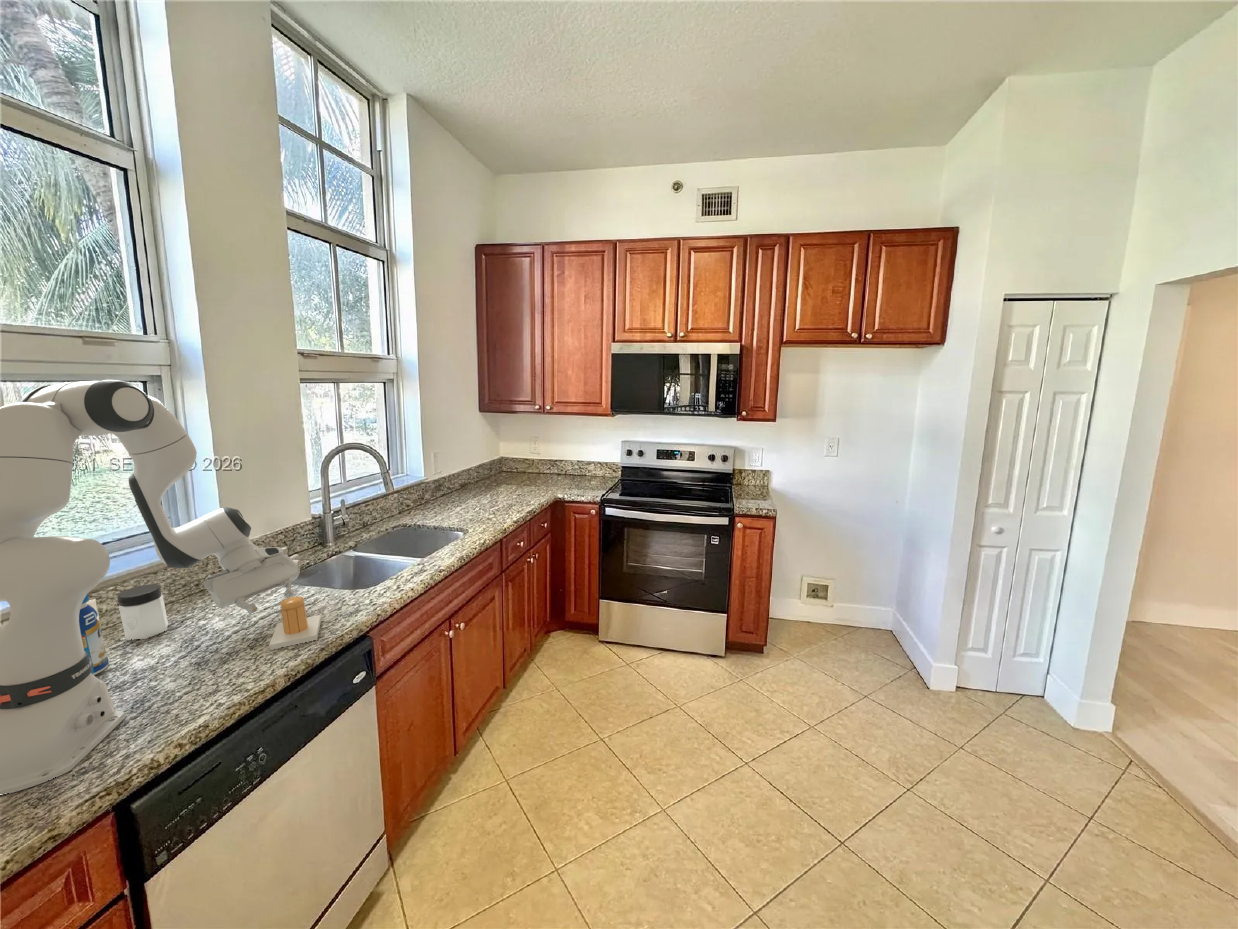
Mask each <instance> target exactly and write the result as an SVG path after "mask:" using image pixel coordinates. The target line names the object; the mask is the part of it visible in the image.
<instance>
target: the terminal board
mask: <svg viewBox="0 0 1238 929" xmlns="http://www.w3.org/2000/svg"><path fill="white" fill-rule="evenodd" d="M307 623H308V627H307V628H306V629H305V630H303V631H302V632H299V633H295V634H286V633H284V627H283V621H282V622H277V623H276V626H275V628H274V632H273V634H272V636H271V639H270V642H269V645H268V646H269V651H274V649H275V650H278V648H279V649H282V648H281V647H284V648H287V647H286V646H289V647H291V646H290V645H293V646H296V645H295V644H298V645H300V644H299V643H303V644H306V643H305V642H307V643H310V642H309V641H312V642H314V641H313V640H316V641H318V639H317V638H319V634H318V633H320V628H321V624H322V615H321V614H317V615H312V616H308V617H307Z"/></svg>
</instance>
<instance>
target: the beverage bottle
mask: <svg viewBox="0 0 1238 929" xmlns="http://www.w3.org/2000/svg"><path fill="white" fill-rule="evenodd" d="M89 601H90V597H89V593H88V594H87V595H86V597H85V598H84V600H83V602H82V605H81V608H80V612H79V626H80V632H81V637H82V642H83V647H84V651H85V652H87V653H88V654H89V657H90V658H91V662H92V663H91V665H92V672H91V673H92V674H93V675H94V676H96V675H98V674H100V673H102V672H103V671H105V670H106V669H107V668H108V667H109V664H110V663H109V662H110V661H109V658H108V656H107V651H106V650H107V649H106V647H105V642H104V638H103V633H102V623H101V621H100V620H99V619H98V618H97V617H98V614H99V613H98V611H97V610H96V609H95V608H94V607H93V606H92V605H89V604H88V602H89Z"/></svg>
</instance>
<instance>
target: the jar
mask: <svg viewBox="0 0 1238 929" xmlns="http://www.w3.org/2000/svg"><path fill="white" fill-rule="evenodd" d="M116 598H117V601H118V605H119V606H118V609H119V614H120V619H121V623H122V628H123V632H124V633H123V634H124V637H125V641H135V640H134V639H140V640H147V639H149V637H150V638H152V637H154V636H157V635H159V633H160V634H163V633H164V631H165V632H167V631H168V626H169V621H168V616H167V611H166V606H165V600H164V596H163V592H162V588H161V585H160V584H156V583H155V584H154V583H150V584H149V583H147V584H142V585H137V586H135V587H134V586H133V587H130V588H127V589H125V590H123V591H120V593H118V594H117V597H116ZM131 639H132V640H131Z"/></svg>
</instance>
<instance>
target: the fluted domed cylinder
mask: <svg viewBox="0 0 1238 929" xmlns="http://www.w3.org/2000/svg"><path fill="white" fill-rule="evenodd" d="M305 603H306V602H305V600H304V597H303V596H299V595H295V596H292V597H289V598H284V599H283V600H282V601H281V602H280V614H281V621H282V622H283V627H284V633H286V634H295V633H299V632H302V631H303V630H305V629H306V628H307V627H308V623H307V610H306V604H305Z"/></svg>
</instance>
